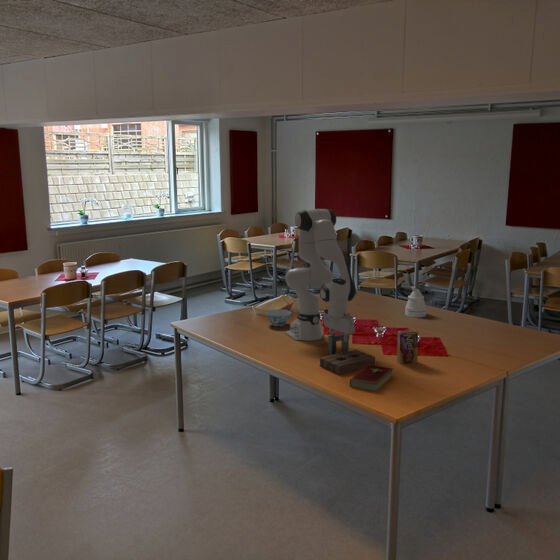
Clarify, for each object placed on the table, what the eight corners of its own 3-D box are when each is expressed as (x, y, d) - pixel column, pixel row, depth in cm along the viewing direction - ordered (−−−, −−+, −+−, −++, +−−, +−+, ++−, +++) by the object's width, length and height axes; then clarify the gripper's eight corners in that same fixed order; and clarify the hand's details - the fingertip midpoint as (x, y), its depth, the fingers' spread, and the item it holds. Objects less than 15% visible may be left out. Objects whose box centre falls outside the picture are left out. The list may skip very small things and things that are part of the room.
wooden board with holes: (320, 365, 264) (319, 357, 264) (355, 357, 276) (355, 349, 275) (338, 374, 253) (338, 366, 252) (375, 364, 265) (375, 356, 264)
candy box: (414, 360, 270) (415, 329, 267) (417, 363, 266) (418, 332, 263) (396, 361, 269) (397, 330, 266) (399, 364, 265) (400, 333, 262)
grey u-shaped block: (328, 356, 278) (328, 336, 275) (345, 352, 283) (345, 332, 281) (331, 358, 275) (331, 337, 273) (349, 353, 281) (349, 333, 279)
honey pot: (404, 316, 350) (405, 288, 346) (406, 311, 362) (406, 284, 358) (425, 318, 346) (426, 289, 343) (426, 312, 358) (427, 285, 355)
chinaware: (291, 328, 328) (291, 315, 326) (265, 328, 328) (265, 315, 326) (291, 321, 342) (291, 309, 341) (266, 321, 343) (266, 309, 341)
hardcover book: (349, 387, 239) (349, 377, 238) (368, 372, 257) (368, 363, 256) (376, 392, 233) (376, 383, 232) (393, 376, 251) (393, 367, 250)
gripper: (357, 315, 268) (357, 343, 271) (331, 307, 285) (331, 333, 288) (347, 317, 265) (347, 345, 267) (321, 308, 282) (321, 335, 284)
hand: (338, 339), depth 278 cm, fingers open, 8 cm apart
